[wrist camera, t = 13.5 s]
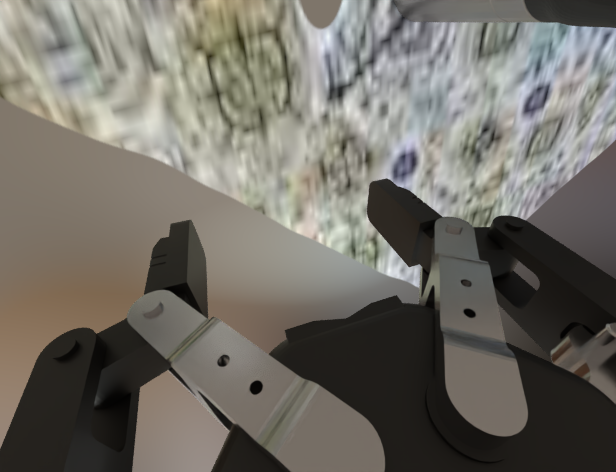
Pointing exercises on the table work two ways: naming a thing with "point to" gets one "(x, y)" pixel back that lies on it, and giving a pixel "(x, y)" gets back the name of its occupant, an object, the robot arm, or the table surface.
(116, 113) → the table surface
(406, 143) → the table surface
